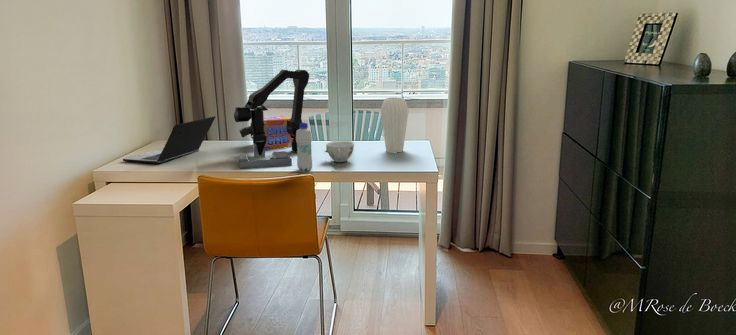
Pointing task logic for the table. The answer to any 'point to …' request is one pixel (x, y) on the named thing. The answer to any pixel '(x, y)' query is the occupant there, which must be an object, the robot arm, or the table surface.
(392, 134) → the vase
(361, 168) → the table surface
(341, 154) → the teacup
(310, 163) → the bottle
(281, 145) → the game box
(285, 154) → the panel
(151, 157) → the laptop
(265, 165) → the vise
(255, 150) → the block
